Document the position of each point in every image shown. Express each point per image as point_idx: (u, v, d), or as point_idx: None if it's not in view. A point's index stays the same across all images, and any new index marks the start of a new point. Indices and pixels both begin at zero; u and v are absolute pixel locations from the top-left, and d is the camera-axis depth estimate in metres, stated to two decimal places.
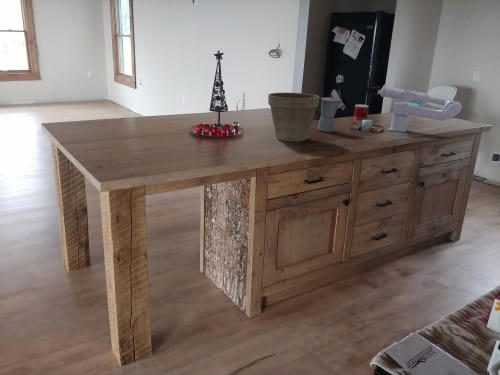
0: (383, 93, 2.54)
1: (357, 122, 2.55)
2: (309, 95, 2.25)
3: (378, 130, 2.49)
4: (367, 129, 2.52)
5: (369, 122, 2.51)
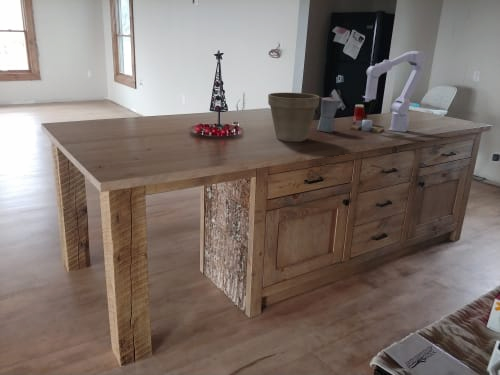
0: (370, 96, 2.46)
1: (357, 122, 2.55)
2: (309, 95, 2.25)
3: (378, 130, 2.49)
4: (367, 129, 2.52)
5: (369, 122, 2.51)
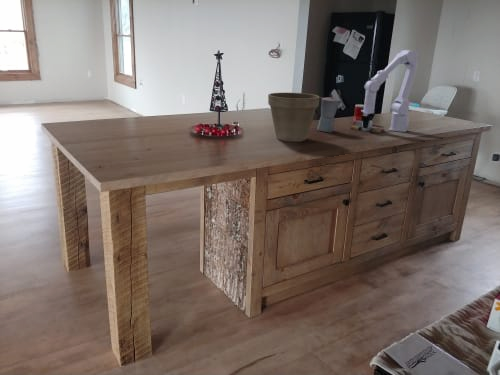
0: (369, 111, 2.48)
1: (357, 122, 2.55)
2: (309, 95, 2.25)
3: (378, 130, 2.49)
4: (367, 129, 2.52)
5: (369, 122, 2.51)
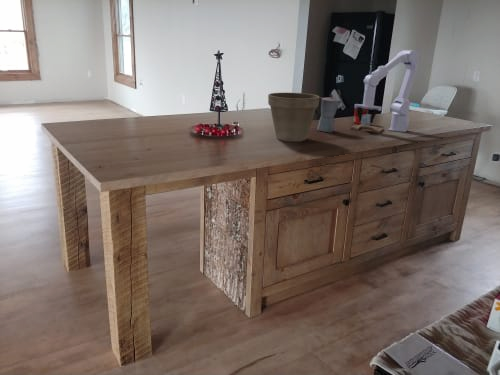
0: None
1: (365, 119, 2.45)
2: (309, 95, 2.25)
3: (378, 130, 2.49)
4: None
5: None
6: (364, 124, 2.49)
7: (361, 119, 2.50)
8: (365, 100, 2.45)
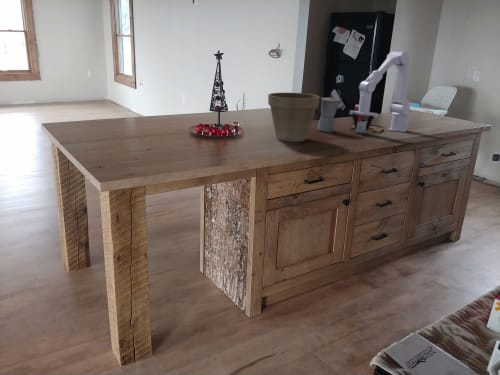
0: None
1: (361, 126, 2.39)
2: (309, 95, 2.25)
3: (378, 130, 2.49)
4: None
5: None
6: (360, 131, 2.43)
7: (357, 126, 2.44)
8: (361, 107, 2.39)
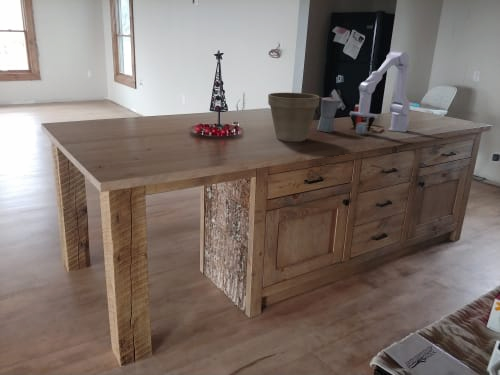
0: None
1: (360, 128, 2.39)
2: (309, 95, 2.25)
3: (378, 130, 2.49)
4: None
5: None
6: (360, 132, 2.43)
7: None
8: (360, 108, 2.39)
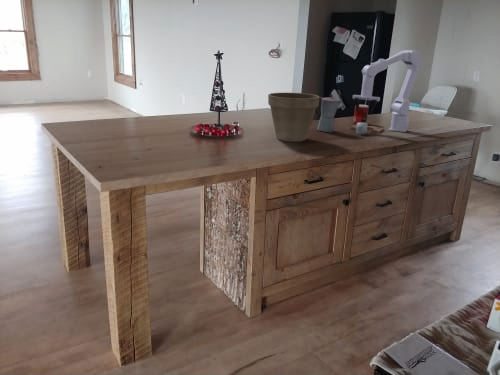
0: (371, 95, 2.46)
1: (360, 128, 2.39)
2: (309, 95, 2.25)
3: (378, 130, 2.49)
4: None
5: None
6: (360, 132, 2.43)
7: None
8: (363, 91, 2.44)
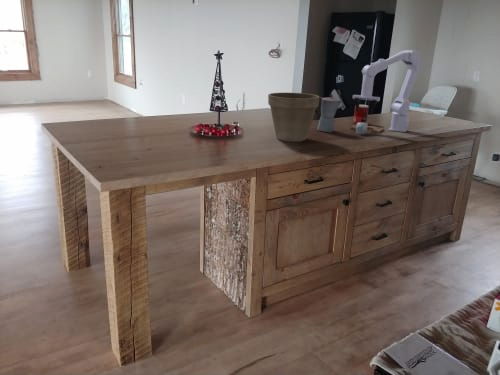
0: (371, 95, 2.46)
1: (360, 128, 2.39)
2: (309, 95, 2.25)
3: (378, 130, 2.49)
4: None
5: None
6: (360, 132, 2.43)
7: None
8: (363, 91, 2.44)
